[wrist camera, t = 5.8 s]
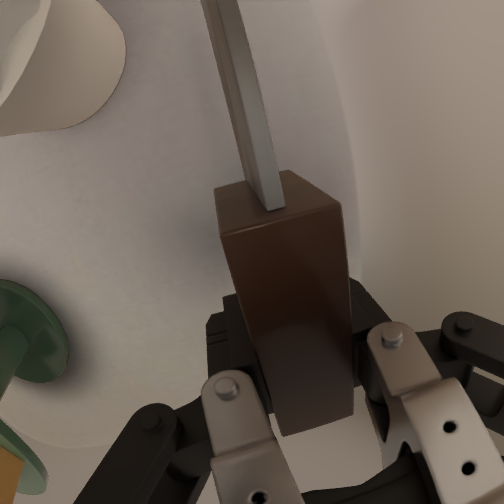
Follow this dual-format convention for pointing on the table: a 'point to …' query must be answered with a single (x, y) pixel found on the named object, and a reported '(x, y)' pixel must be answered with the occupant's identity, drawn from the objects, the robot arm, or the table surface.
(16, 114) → the cup
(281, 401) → the knife
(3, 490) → the cake
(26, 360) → the cake stand
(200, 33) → the table surface
